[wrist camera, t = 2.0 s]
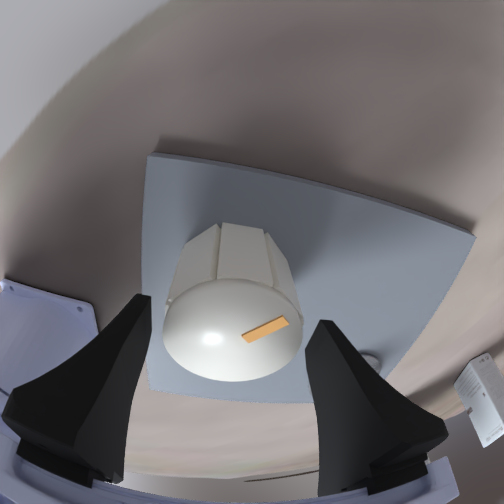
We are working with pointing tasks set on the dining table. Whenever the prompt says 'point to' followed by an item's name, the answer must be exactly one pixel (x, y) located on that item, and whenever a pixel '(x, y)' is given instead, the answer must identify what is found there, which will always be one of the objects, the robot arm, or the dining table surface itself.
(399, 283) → the board
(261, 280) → the knob
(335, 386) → the robot arm
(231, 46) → the dining table surface
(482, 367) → the skincare box
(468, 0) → the dining table surface
